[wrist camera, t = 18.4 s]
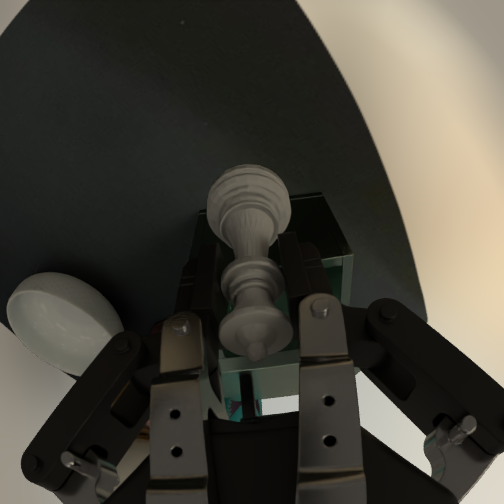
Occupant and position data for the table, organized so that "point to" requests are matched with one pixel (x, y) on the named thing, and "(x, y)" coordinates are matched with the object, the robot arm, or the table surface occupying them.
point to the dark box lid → (261, 381)
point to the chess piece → (251, 258)
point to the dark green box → (307, 230)
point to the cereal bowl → (62, 320)
